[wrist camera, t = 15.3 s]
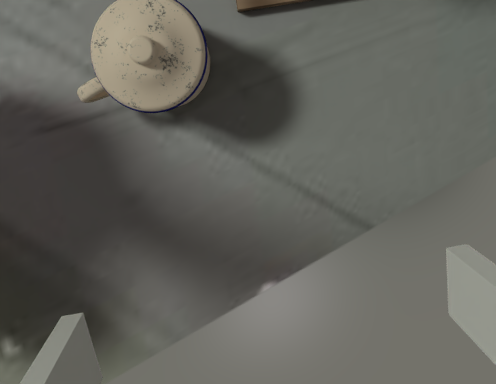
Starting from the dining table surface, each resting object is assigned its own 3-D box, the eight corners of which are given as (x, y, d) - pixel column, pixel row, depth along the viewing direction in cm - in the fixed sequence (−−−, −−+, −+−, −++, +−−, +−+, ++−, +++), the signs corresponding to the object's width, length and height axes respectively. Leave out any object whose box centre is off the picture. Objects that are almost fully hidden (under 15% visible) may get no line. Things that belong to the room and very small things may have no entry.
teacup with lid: (185, -5, 42) (165, -44, 30) (229, 84, 43) (226, 78, 32) (75, 55, 42) (15, 38, 31) (122, 139, 44) (83, 153, 33)
